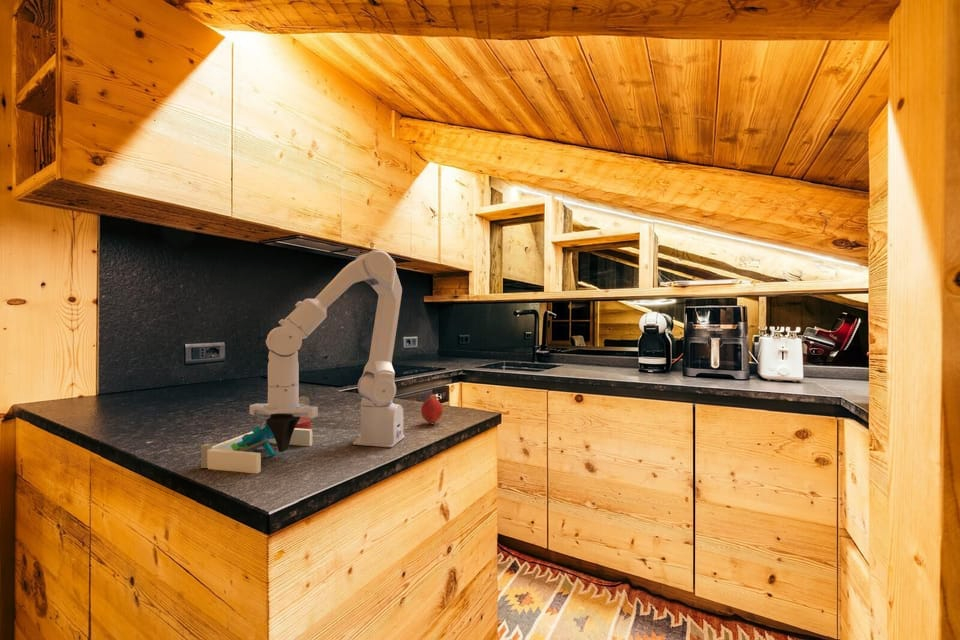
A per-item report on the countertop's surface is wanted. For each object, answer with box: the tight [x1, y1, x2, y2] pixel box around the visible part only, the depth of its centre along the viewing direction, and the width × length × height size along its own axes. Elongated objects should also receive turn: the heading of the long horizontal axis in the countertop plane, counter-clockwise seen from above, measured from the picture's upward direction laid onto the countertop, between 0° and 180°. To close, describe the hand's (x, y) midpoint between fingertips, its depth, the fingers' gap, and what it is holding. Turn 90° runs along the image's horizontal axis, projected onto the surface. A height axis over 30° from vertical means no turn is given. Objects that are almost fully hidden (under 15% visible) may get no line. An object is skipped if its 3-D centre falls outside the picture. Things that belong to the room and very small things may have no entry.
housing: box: [200, 421, 313, 475], centre depth 84 cm, size 12×17×4 cm
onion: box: [420, 394, 444, 424], centre depth 109 cm, size 6×6×8 cm
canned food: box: [295, 395, 312, 429], centre depth 102 cm, size 11×10×10 cm
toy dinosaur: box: [231, 422, 276, 458], centre depth 83 cm, size 11×6×10 cm
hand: (283, 450), depth 83 cm, fingers closed
